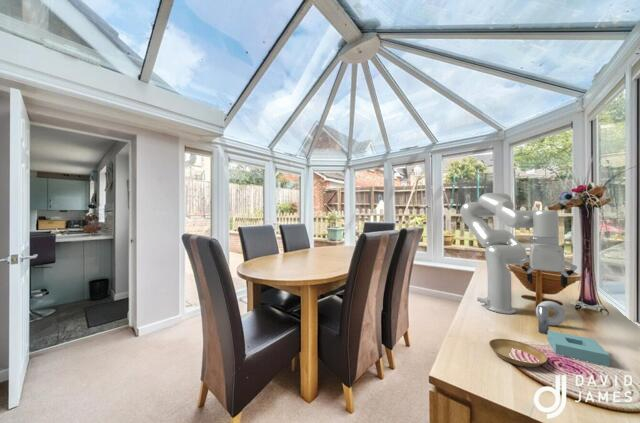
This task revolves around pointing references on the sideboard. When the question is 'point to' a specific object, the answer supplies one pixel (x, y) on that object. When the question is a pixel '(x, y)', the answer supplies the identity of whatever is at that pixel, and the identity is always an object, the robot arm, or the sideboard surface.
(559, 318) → the donut
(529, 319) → the sideboard surface
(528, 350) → the plant saucer
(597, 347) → the slot block
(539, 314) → the steel pin
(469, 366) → the sideboard surface
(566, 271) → the robot arm
